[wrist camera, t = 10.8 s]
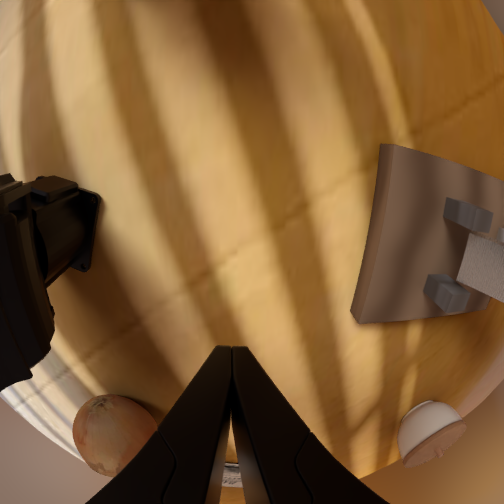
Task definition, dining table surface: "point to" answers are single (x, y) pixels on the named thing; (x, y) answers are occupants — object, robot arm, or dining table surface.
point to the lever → (483, 265)
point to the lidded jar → (428, 432)
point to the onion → (111, 432)
